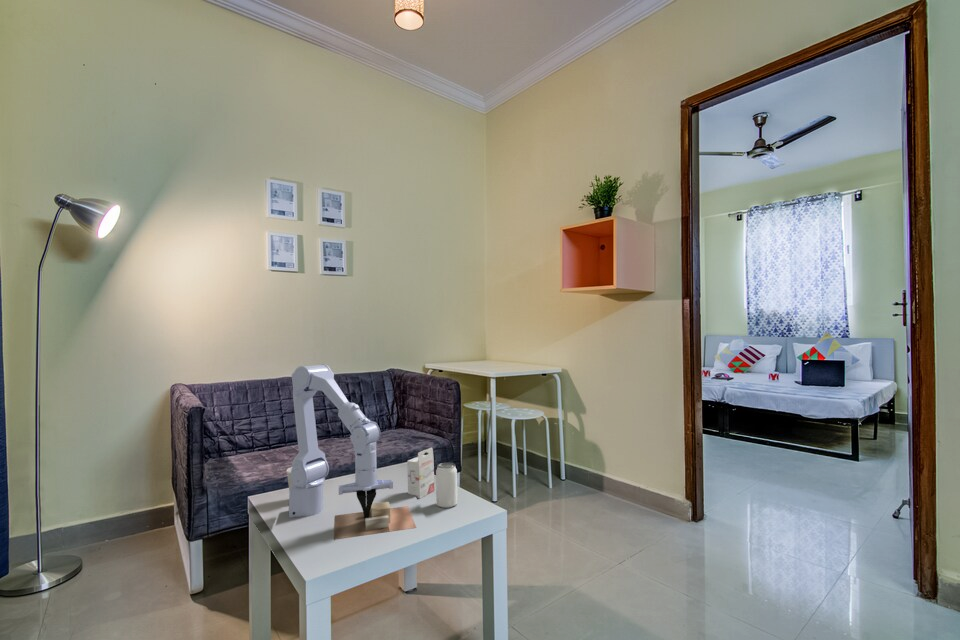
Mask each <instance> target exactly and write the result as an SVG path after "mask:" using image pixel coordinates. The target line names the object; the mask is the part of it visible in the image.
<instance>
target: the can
mask: <svg viewBox="0 0 960 640" xmlns="http://www.w3.org/2000/svg"><path fill="white" fill-rule="evenodd" d="M435 488H436V489H435V493H436V496H435V497H436V499H435V500H436V506H438V507H439V508H441V507H442V508H443V509H448V508H449V507H451V508H454V507H455V506H456V505H458V470H457V468H456V464H455V463H453V462H442V463H438V464H437V468H436V470H435ZM453 506H454V507H453Z"/></svg>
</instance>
